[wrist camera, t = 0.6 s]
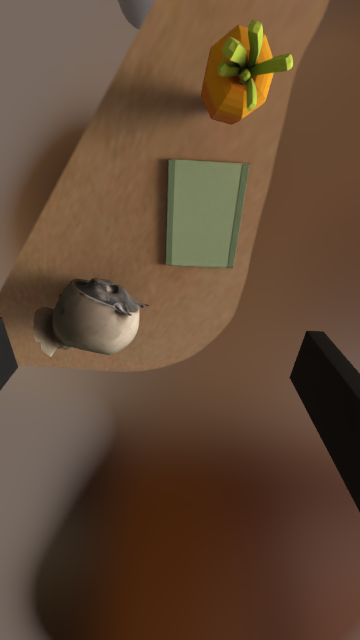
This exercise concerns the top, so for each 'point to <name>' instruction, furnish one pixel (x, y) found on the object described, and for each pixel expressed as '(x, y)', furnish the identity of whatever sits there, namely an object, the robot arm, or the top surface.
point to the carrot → (240, 73)
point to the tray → (204, 212)
